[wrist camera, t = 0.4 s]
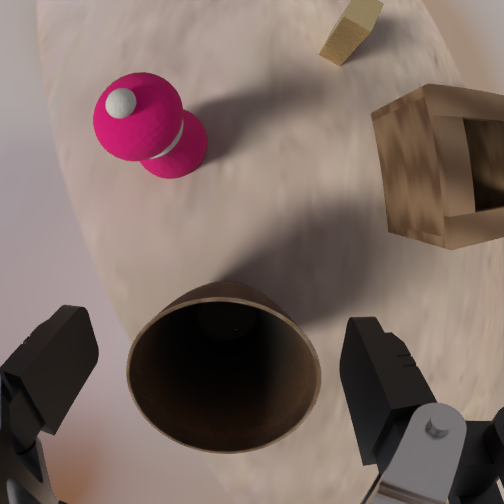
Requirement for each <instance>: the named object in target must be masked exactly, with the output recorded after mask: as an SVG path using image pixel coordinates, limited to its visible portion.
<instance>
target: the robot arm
mask: <svg viewBox="0 0 504 504" xmlns="http://www.w3.org/2000/svg"><path fill="white" fill-rule="evenodd" d="M98 356H99V350H98V345H97V341H96V338H95V335H94V331H93V328H92V325H91V321H90V317H89V314H88V311H87V310H86V308H84V307H79V306H71V305H63V306H61V307H60V308H59V309H58V310H57V311H56V312H55V313H54V314H53V315H52V316H51V318H50V319H48V320H47V321H45V322H43V323H42V324H40V325H39V326H38V327H37V328H36V329H35V330H34V331H33V332H32V333H31V334H30V337H29V336H28V337H27V338H26V339H25V340H24V341H23V344H21V345H20V346H19V347H18V348H17V349H16V350H15V351H14V353H12V355H11V356H10V357H9V358H8V359H7V360H6V361H5V363H4V364H3V365H2V366H1V367H0V504H67V503H65V502H62V501H59V500H58V499H57V498H56V496H55V494H54V492H53V490H52V487H51V484H50V480H49V476H48V472H47V468H46V463H45V459H44V454H43V449H42V444H41V440H40V439H39V437H38V436H37V435H38V433H39V432H40V430H41V431H44V432H46V433H49V434H52V435H55V434H56V432H57V430H58V428H59V427H60V425H61V423H62V421H63V419H64V417H65V416H66V414H67V412H68V411H69V409H70V407H71V405H72V404H73V402H74V400H75V399H76V397H77V395H78V394H79V392H80V390H81V388H82V387H83V385H84V383H85V382H86V380H87V379H88V377H89V375H90V374H91V372H92V370H93V369H94V367H95V366H96V364H97V361H98ZM340 378H341V382H342V386H343V389H344V393H345V396H346V400H347V404H348V408H349V411H350V415H351V419H352V423H353V427H354V431H355V435H356V439H357V443H358V447H359V451H360V455H361V459H362V463H363V466H365V465H371V464H377V466H378V470H379V473H378V475H377V476H376V478H375V480H374V481H373V483H372V485H371V487H370V488H369V490H368V492H367V493H366V495H365V496H364V498H363V500H362V501H361V503H360V504H446V500H447V497H448V500H449V504H504V502H503V499H502V497H501V493H500V491H499V488H498V485H497V483H496V482H497V481H498V479H500V480H501V482H502V485H503V488H504V407H503V408H501V409H500V410H499V411H498V413H497V414H496V415H495V417H494V418H493V420H492V421H465V420H464V418H463V416H462V415H461V414H460V413H459V412H458V411H457V410H456V409H454V408H453V407H451V406H449V405H446V404H442V403H437V401H436V399H435V397H434V395H433V393H432V391H431V389H430V388H429V386H428V384H427V382H426V380H425V378H424V377H423V375H422V373H421V371H420V370H419V368H418V367H416V362H415V361H414V359H413V357H411V354H410V352H409V350H408V349H407V347H406V345H405V343H404V342H403V341H402V340H400V339H399V338H398V337H397V336H395V335H394V334H393V333H392V332H390V333H385V332H384V331H383V329H382V327H381V325H380V323H379V322H378V320H377V318H376V317H351V318H349V320H348V323H347V328H346V333H345V338H344V343H343V348H342V353H341V358H340Z"/></svg>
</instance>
